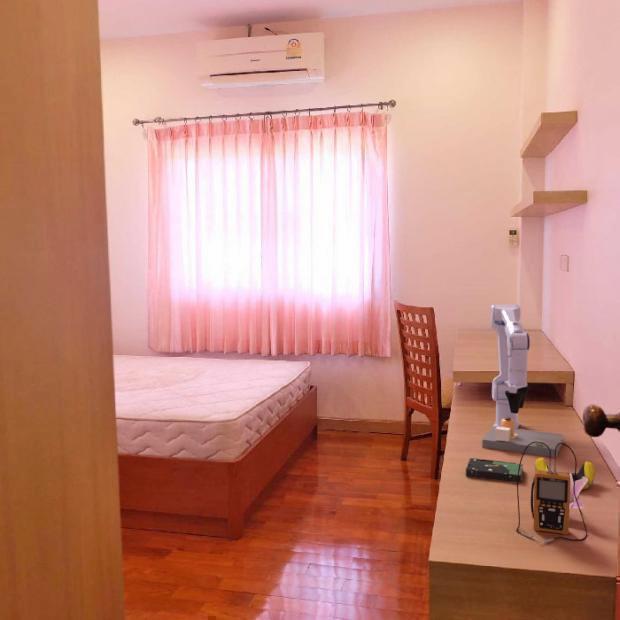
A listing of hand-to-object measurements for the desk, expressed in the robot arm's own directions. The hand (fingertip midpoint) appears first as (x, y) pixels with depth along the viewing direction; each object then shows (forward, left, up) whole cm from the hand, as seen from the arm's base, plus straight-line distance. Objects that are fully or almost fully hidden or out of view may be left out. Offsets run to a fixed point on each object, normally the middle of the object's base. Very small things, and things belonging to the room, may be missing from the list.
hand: (516, 410), depth 201 cm
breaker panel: (+3, +3, -10) cm, 11 cm away
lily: (+55, +21, -11) cm, 60 cm away
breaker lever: (+10, -2, -8) cm, 13 cm away
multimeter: (+69, +20, -11) cm, 72 cm away
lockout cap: (+3, -2, -8) cm, 9 cm away
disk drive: (+34, 0, -11) cm, 36 cm away
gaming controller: (+33, +19, -11) cm, 39 cm away
